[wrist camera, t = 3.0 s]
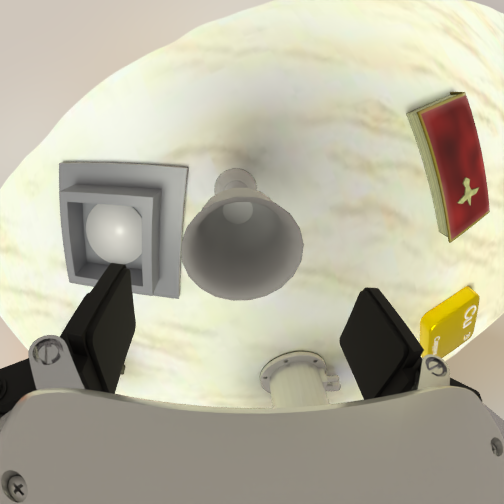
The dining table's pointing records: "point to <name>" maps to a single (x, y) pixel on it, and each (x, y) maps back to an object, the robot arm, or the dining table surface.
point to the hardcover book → (452, 162)
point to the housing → (123, 222)
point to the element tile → (449, 323)
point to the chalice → (241, 241)
